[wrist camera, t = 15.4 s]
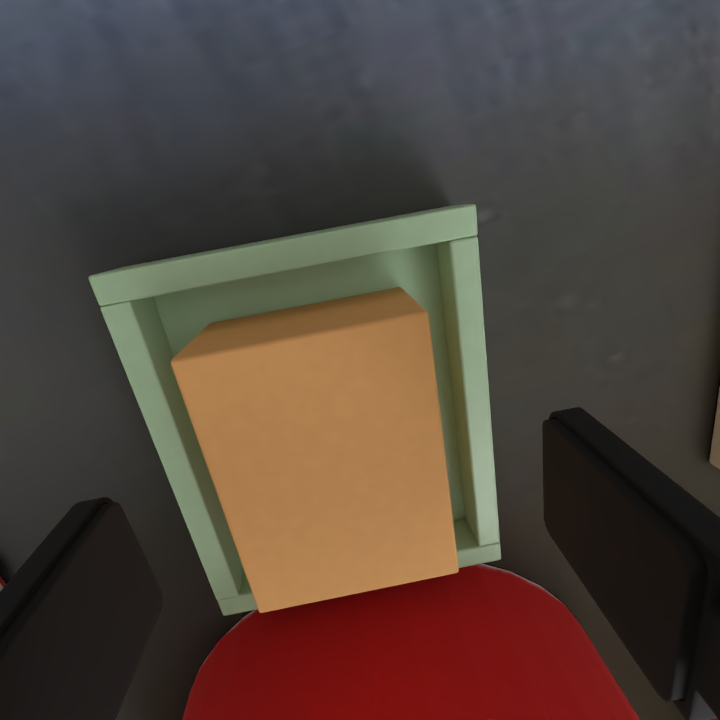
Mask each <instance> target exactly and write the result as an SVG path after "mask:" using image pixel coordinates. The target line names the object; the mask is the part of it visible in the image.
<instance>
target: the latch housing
mask: <svg viewBox="0 0 720 720" xmlns="http://www.w3.org/2000/svg"><path fill="white" fill-rule="evenodd" d="M709 462H710V463H711V464H712V465H714V466H715V467H717V468H718V469H720V387H719V394H718V401H717V408H716V416H715V423H714V430H713V437H712V445H711V452H710V459H709Z"/></svg>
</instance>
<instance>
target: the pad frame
mask: <svg viewBox="0 0 720 720" xmlns="http://www.w3.org/2000/svg"><path fill="white" fill-rule="evenodd" d="M477 234H478V229H477V216H476V206H475V204H467V205H453V206H446V207H441V208H436V209H430V210H425V211H420V212H414V213H409V214H404V215H398V216H393V217H388V218H382V219H377V220H371V221H366V222H361V223H355V224H350V225H345V226H339V227H334V228H329V229H323V230H318V231H313V232H307V233H302V234H296V235H291V236H286V237H280V238H275V239H270V240H264V241H259V242H254V243H248V244H243V245H238V246H232V247H227V248H221V249H216V250H211V251H205V252H200V253H195V254H189V255H184V256H179V257H173V258H168V259H163V260H157V261H152V262H146V263H141V264H136V265H130V266H125V267H121V268H118V269H114V270H110V271H106V272H102V273H98V274H94V275H91V276H89V281H90V284H91V286H92V289H93V291H94V294H95V296H96V299H97V301H98V304H99V305H100V306H101V307H100V309H101V312H102V314H103V317H104V319H105V322H106V324H107V327H108V329H109V332H110V334H111V337H112V339H113V342H114V344H115V347H116V349H117V352H118V354H119V357H120V359H121V362H122V364H123V367H124V369H125V372H126V374H127V377H128V379H129V382H130V384H131V387H132V389H133V392H134V394H135V397H136V399H137V402H138V404H139V407H140V409H141V412H142V414H143V417H144V419H145V422H146V424H147V427H148V429H149V432H150V434H151V437H152V439H153V442H154V444H155V447H156V450H157V452H158V455H159V457H160V460H161V462H162V465H163V467H164V470H165V472H166V475H167V477H168V480H169V482H170V485H171V487H172V490H173V492H174V495H175V497H176V500H177V502H178V505H179V507H180V510H181V512H182V515H183V517H184V520H185V522H186V525H187V527H188V530H189V532H190V535H191V537H192V540H193V542H194V545H195V547H196V550H197V552H198V555H199V557H200V560H201V562H202V565H203V567H204V570H205V572H206V575H207V577H208V580H209V582H210V585H211V587H212V590H213V592H214V595H215V597H216V600H218V604H219V606H220V609H221V611H222V614H223V615H224V616H227V615H232V614H237V613H242V612H246V611H251V610H256V609H258V608H257V605H256V602H255V599H254V597H253V594H252V591H251V588H250V585H249V582H248V580H247V577H246V574H245V571H244V568H243V566H242V563H241V560H240V557H239V554H238V552H237V549H236V546H235V543H234V540H233V538H232V535H231V532H230V529H229V526H228V524H227V521H226V518H225V515H224V512H223V509H222V507H221V504H220V501H219V498H218V495H217V493H216V490H215V487H214V484H213V481H212V479H211V476H210V473H209V470H208V467H207V465H206V462H205V459H204V456H203V453H202V450H201V448H200V445H199V442H198V439H197V436H196V434H195V431H194V428H193V425H192V422H191V420H190V417H189V414H188V411H187V408H186V406H185V403H184V400H183V397H182V394H181V391H180V389H179V386H178V383H177V380H176V377H175V375H174V372H173V369H172V366H171V360H172V359H173V358H174V357H175V356H176V355H177V354H178V353H179V352H180V351H181V350H182V349H183V348H184V347H186V346H187V345H188V344H189V343H190V342H191V341H192V340H193V339H194V338H195V337H196V336H197V335H198V334H199V333H200V332H201V331H202V330H203V329H204V328H205V327H207V326H208V325H209V324H210V323H213V322H218V321H223V320H229V319H234V318H239V317H245V316H250V315H255V314H260V313H266V312H271V311H276V310H281V309H287V308H292V307H297V306H302V305H308V304H313V303H318V302H323V301H329V300H334V299H339V298H344V297H350V296H355V295H360V294H365V293H371V292H376V291H381V290H386V289H392V288H397V287H401V288H402V289H403V290H404V291H405V292H407V293H408V294H409V295H410V296H411V297H412V298H413V299H414V300H415V301H416V302H417V303H418V304H419V305H420V306H421V307H423V308H424V309H425V310H426V311H427V313H428V316H429V324H430V332H431V341H432V349H433V357H434V366H435V374H436V382H437V391H438V399H439V407H440V416H441V424H442V432H443V441H444V449H445V457H446V465H447V474H448V482H449V490H450V499H451V507H452V515H453V524H454V532H455V540H456V549H457V557H458V565H459V568H462V567H467V566H471V565H476V564H481V563H486V562H491V561H496V560H500V559H501V548H500V542H499V541H500V536H499V522H498V508H497V495H496V481H495V467H494V454H493V440H492V426H491V412H490V399H489V385H488V371H487V358H486V344H485V330H484V317H483V303H482V289H481V276H480V262H479V248H478V238H477V237H476V235H477Z"/></svg>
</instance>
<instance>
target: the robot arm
mask: <svg viewBox="0 0 720 720" xmlns="http://www.w3.org/2000/svg"><path fill="white" fill-rule="evenodd" d="M542 428H543V490H544V521H545V525H546V527H547V530H548V532H549V534H550V536H551V537H552V539H553V540H554V541H555V543H556V544H557V546H558V547H559V549H560V550H561V552H562V553H563V555H564V556H565V558H566V559H567V561H568V562H569V564H570V565H571V567H572V568H573V570H574V571H575V573H576V574H577V576H578V577H579V578H580V580H581V581H582V583H583V584H584V586H585V587H586V589H587V590H588V592H589V593H590V595H591V596H592V598H593V599H594V601H595V602H596V604H597V605H598V607H599V608H600V610H601V611H602V612H603V614H604V615H605V617H606V618H607V620H608V621H609V623H610V624H611V626H612V627H613V629H614V630H615V632H616V633H617V635H618V636H619V638H620V639H621V641H622V642H623V644H624V645H625V646H626V648H627V649H628V651H629V652H630V654H631V655H632V657H633V658H634V660H635V661H636V663H637V664H638V666H639V667H640V669H641V670H642V672H643V673H644V675H645V676H646V678H647V679H648V680H649V682H650V683H651V685H652V686H653V688H654V689H655V691H656V692H657V693H658V695H659V696H660V697H661V698H662V699H664V700H665V701H673V702H674V703H675V705H676V706H677V708H678V709H679V711H680V712H681V714H682V715H683V716H684V718H685V719H686V720H710V719H715V718H718V719H719V720H720V518H719V517H718V516H717V515H716V514H714V513H713V512H712V511H711V510H709V509H708V508H707V507H705V506H704V505H703V504H702V503H700V502H699V501H698V500H697V499H695V498H694V497H693V496H692V495H690V494H689V493H688V492H687V491H685V490H684V489H683V488H682V487H680V486H679V485H678V484H677V483H675V482H674V481H673V480H672V479H670V478H669V477H668V476H666V475H665V474H664V473H663V472H661V471H660V470H659V469H658V468H656V467H655V466H654V465H653V464H651V463H650V462H649V461H648V460H646V459H645V458H644V457H643V456H641V455H640V454H639V453H638V452H636V451H635V450H634V449H632V448H631V447H630V446H629V445H627V444H626V443H625V442H624V441H622V440H621V439H620V438H619V437H617V436H616V435H615V434H614V433H612V432H611V431H610V430H609V429H607V428H606V427H605V426H604V425H602V424H601V423H600V422H599V421H597V420H596V419H595V418H593V417H592V416H591V415H590V414H588V413H587V412H586V411H585V410H583V409H582V408H580V407H576V408H571V409H566V410H561V411H555V412H552V413H551V414H550V417H549V420H545V421H544V422H543V427H542ZM162 598H163V597H162V592H161V589H160V587H159V585H158V583H157V580H156V578H155V576H154V574H153V572H152V570H151V568H150V566H149V564H148V561H147V559H146V557H145V555H144V553H143V551H142V549H141V547H140V545H139V542H138V540H137V538H136V536H135V534H134V532H133V530H132V528H131V526H130V523H129V521H128V519H127V517H126V515H125V513H124V511H123V509H122V507H121V505H120V504H119V503H116V502H113V501H112V500H111V499H110V498H107V497H103V498H98V499H93V500H88V501H82V502H79V503H76V504H75V505H74V506H73V507H72V508H71V509H70V510H69V511H68V512H67V514H66V515H65V516H64V517H63V518H62V519H61V521H60V522H59V523H58V524H57V525H56V527H55V528H54V529H53V530H52V531H51V532H50V534H49V535H48V536H47V537H46V538H45V539H44V541H43V542H42V543H41V544H40V545H39V547H38V548H37V549H36V550H35V551H34V552H33V554H32V555H31V556H30V557H29V558H28V559H27V561H26V562H25V563H24V564H23V565H22V566H21V568H20V569H19V570H18V571H17V572H16V574H15V575H14V576H13V577H12V578H11V579H10V581H9V582H8V583H7V584H6V585H5V586H4V588H3V589H2V590H1V591H0V720H115V719H116V717H117V714H118V712H119V709H120V707H121V705H122V702H123V700H124V697H125V695H126V693H127V690H128V688H129V685H130V683H131V680H132V678H133V676H134V673H135V671H136V668H137V666H138V664H139V661H140V659H141V656H142V654H143V651H144V649H145V647H146V644H147V642H148V639H149V637H150V635H151V632H152V630H153V627H154V625H155V623H156V620H157V618H158V615H159V613H160V610H161V607H162Z"/></svg>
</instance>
